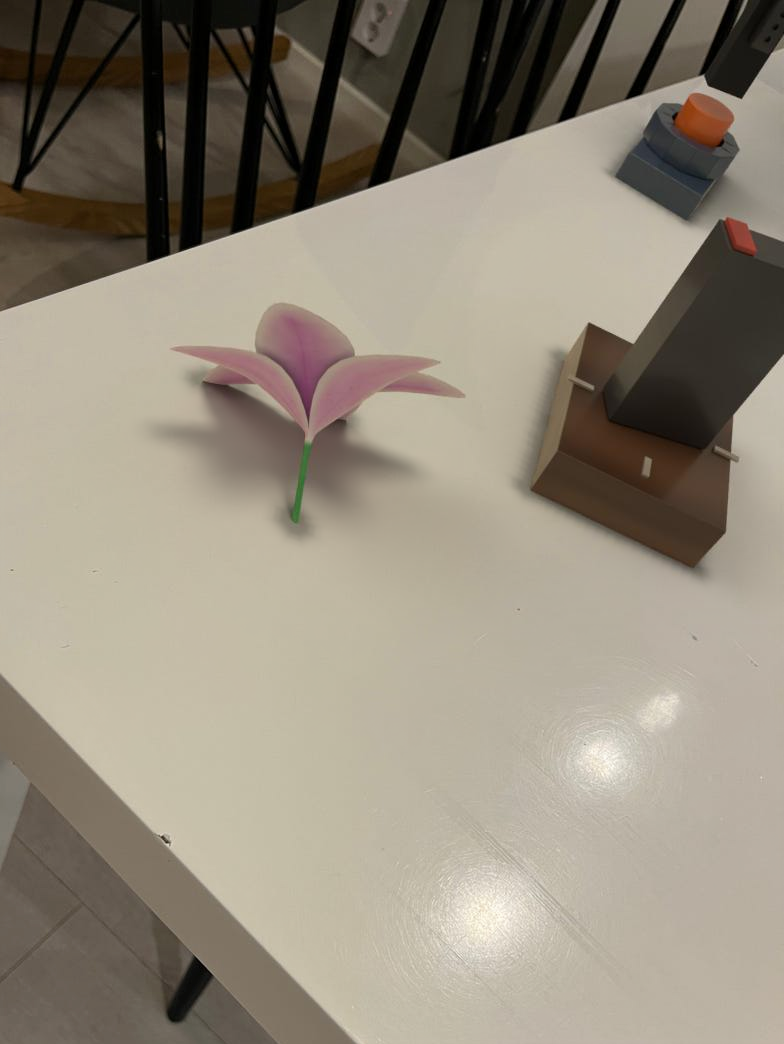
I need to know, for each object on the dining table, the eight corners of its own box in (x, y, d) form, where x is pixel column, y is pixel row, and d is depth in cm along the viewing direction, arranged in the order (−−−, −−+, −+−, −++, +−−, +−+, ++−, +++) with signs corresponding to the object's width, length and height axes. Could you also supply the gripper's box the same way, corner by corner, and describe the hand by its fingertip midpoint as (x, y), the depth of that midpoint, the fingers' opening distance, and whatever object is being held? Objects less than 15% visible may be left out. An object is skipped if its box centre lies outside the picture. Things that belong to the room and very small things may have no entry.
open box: (696, 417, 57) (828, 251, 49) (704, 450, 55) (843, 283, 47) (602, 388, 56) (722, 213, 48) (608, 420, 54) (733, 245, 46)
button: (710, 155, 76) (728, 127, 75) (667, 128, 77) (683, 101, 75) (722, 139, 79) (739, 113, 77) (679, 114, 79) (696, 87, 77)
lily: (447, 512, 52) (489, 307, 49) (398, 587, 42) (447, 333, 38) (214, 461, 55) (237, 262, 51) (113, 519, 44) (132, 274, 40)
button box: (687, 226, 77) (721, 175, 74) (609, 178, 77) (640, 125, 74) (720, 180, 83) (752, 132, 80) (647, 136, 84) (677, 87, 81)
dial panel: (696, 575, 54) (735, 533, 52) (521, 490, 54) (552, 445, 51) (708, 435, 62) (742, 393, 59) (556, 361, 61) (584, 316, 59)
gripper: (1100, -281, 54) (790, 153, 72) (1008, -341, 62) (750, 63, 80) (977, -345, 52) (691, 115, 70) (899, -398, 60) (660, 27, 78)
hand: (722, 87), depth 75 cm, fingers closed
